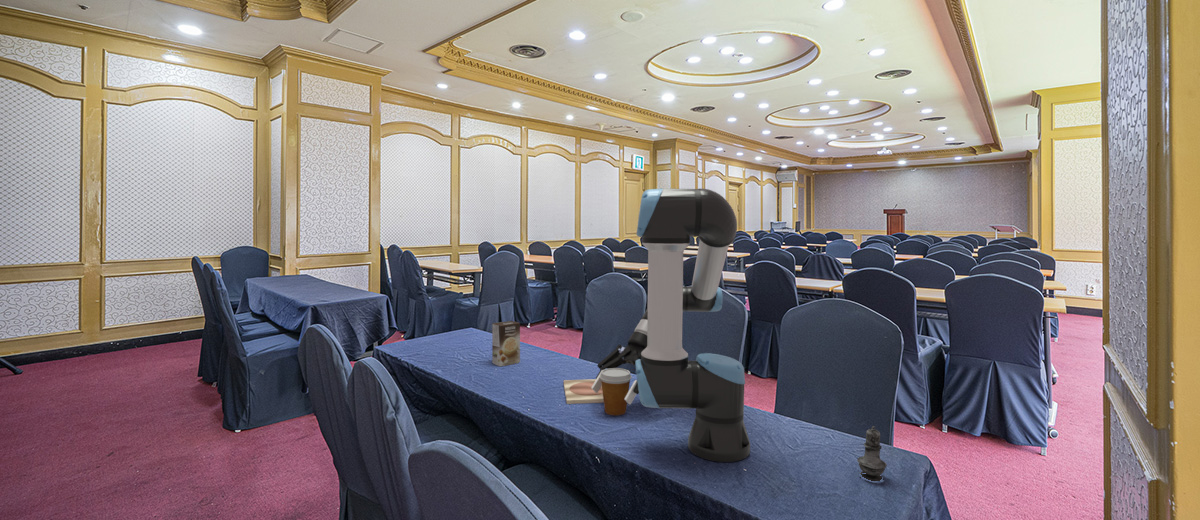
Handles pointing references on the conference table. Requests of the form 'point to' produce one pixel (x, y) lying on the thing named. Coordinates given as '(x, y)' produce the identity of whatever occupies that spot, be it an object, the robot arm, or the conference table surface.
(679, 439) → the conference table surface
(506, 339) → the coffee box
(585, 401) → the birch board
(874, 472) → the dark grey chess piece
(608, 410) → the disposable coffee cup
